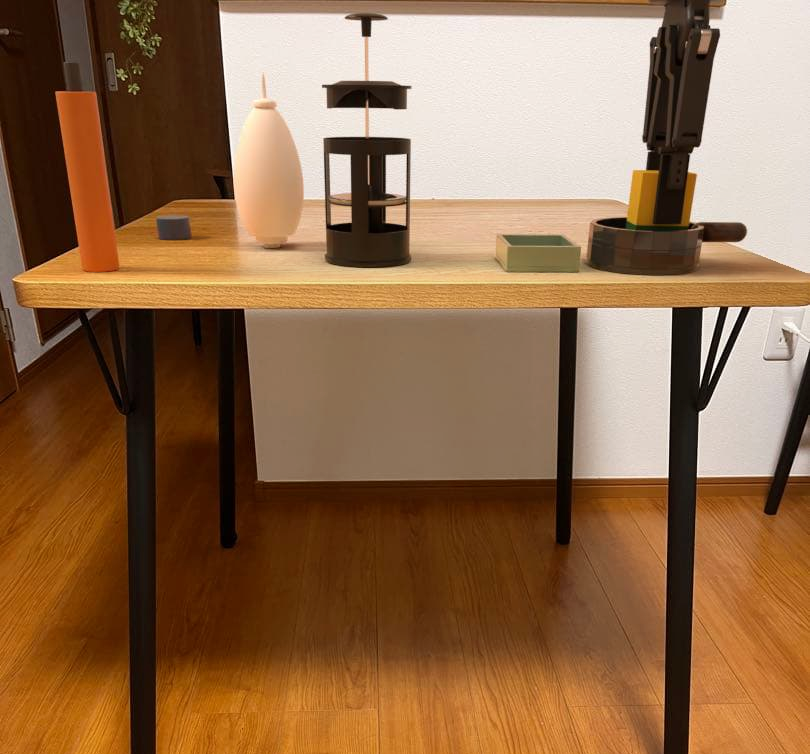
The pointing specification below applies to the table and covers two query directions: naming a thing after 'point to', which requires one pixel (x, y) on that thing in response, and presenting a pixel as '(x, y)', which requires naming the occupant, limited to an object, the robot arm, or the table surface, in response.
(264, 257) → the table surface
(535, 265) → the sponge dish
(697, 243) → the pan
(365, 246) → the french press
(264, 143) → the air blower bulb
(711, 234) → the pan handle
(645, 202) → the sponge
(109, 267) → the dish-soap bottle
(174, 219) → the steel-wool tin
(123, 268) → the table surface
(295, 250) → the table surface
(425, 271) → the table surface
